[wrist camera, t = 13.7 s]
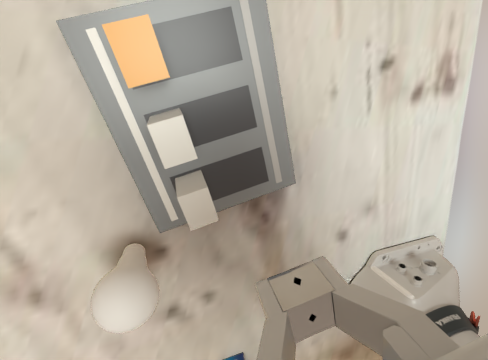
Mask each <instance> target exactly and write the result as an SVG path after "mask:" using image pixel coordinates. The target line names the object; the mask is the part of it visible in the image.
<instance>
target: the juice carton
mask: <svg viewBox="0 0 488 360" xmlns="http://www.w3.org/2000/svg"><path fill="white" fill-rule="evenodd" d="M223 360H245V358H244V354H243V352H242V353H240V354H237V355H234V356H232V357H229V358H226V359H223Z"/></svg>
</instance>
